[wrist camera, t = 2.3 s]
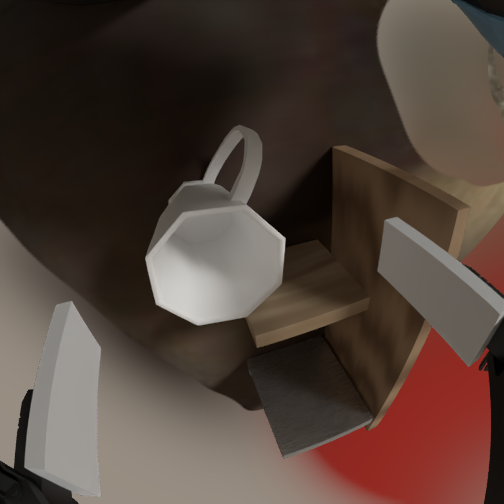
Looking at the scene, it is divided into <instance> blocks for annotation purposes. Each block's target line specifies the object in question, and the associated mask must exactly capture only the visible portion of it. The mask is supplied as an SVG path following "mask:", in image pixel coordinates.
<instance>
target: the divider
mask: <svg viewBox="0 0 504 504" xmlns="http://www.w3.org/2000/svg"><path fill="white" fill-rule="evenodd" d="M369 301H370V296H369V295H368V294H367V293H366V292H365V290H364V289H363V288H362V287H361V286H360V285H359V284H358V283H357V281H356V280H355V279H354V278H353V277H352V276H351V275H350V274H349V273H348V272H347V270H346V269H345V268H344V267H343V266H342V265H341V264H340V263H339V262H338V261H337V260H336V259H335V257H334V256H333V255H332V254H331V253H330V252H329V251H328V250H327V249H326V248H325V247H324V246H323V245H322V244H321V243H320V242H319V241H318V239H317V240H313V241H309V242H305V243H301V244H298V245H294V246H290V247H286V248H285V252H284V264H283V276H282V284H281V285H280V286H279V287H278V288H277V289H276V290H275V291H274V292H273V293H272V294H271V295H270V296H269V297H267V298H266V299H265V300H264V301H263V302H262V303H261V304H260V305H259V306H258V307H257V308H256V309H255V310H254V311H253V312H251V313H250V314H249V315H248V316H247V317H245V319H246V321H247V324H248V327H249V329H250V332H251V334H252V337H253V339H254V342H255V344H256V347H257V348H259V347H263V346H266V345H269V344H272V343H276V342H279V341H282V340H285V339H288V338H291V337H294V336H297V335H300V334H303V333H306V332H309V331H312V330H315V329H318V328H320V327H323V326H326V325H329V324H331V323H334V322H337V321H340V320H342V319H345V318H347V317H350V316H353V315H355V314H358V313H360V312H363V311H365V310H368V305H369Z"/></svg>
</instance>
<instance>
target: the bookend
mask: <svg viewBox="0 0 504 504" xmlns="http://www.w3.org/2000/svg"><path fill="white" fill-rule="evenodd" d="M246 361H247V366H248V370H249V373H250V374H251V376H252V379H253V382H254V385H255V387H256V390H257V393H258V395H259V398H260V401H261V403H262V406H263V409H264V411H265V414H266V416H267V419H268V422H269V424H270V427H271V429H272V432H273V434H274V437H275V439H276V442H277V444H278V447H279V449H280V452H281V454H282V457H283V459H285V458H288V457H291V456H294V455H297V454H300V453H302V452H305V451H308V450H310V449H313V448H316V447H318V446H321V445H323V444H325V443H328V442H330V441H333V440H335V439H337V438H339V437H342V436H344V435H346V434H348V433H351V432H353V431H355V430H357V429H359V428H361V427H363V426H365V425H367V424H369V423H370V422H371V421H372V419H373V417H372V416H371V414H370V412H369V411H368V409H367V408H366V406H365V404H364V403H363V401H362V399H361V398H360V396H359V394H358V393H357V391H356V390H355V388H354V386H353V385H352V383H351V381H350V380H349V378H348V377H347V375H346V373H345V372H344V370H343V368H342V367H341V365H340V364H339V362H338V360H337V359H336V357H335V356H334V354H333V352H332V351H331V349H330V348H329V346H328V344H327V343H326V341H325V340H324V338H323V336H322V335H319V336H316V337H313V338H310V339H308V340H305V341H302V342H299V343H296V344H293V345H290V346H287V347H284V348H281V349H278V350H274V351H271V352H268V353H265V354H261V355H258V356H255V357H251V358H248V359H246Z"/></svg>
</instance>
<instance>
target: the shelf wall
mask: <svg viewBox="0 0 504 504" xmlns="http://www.w3.org/2000/svg"><path fill="white" fill-rule="evenodd" d="M332 164H333V195H332V235H331V254H332V255H333V256H334V257H335V259H336V260H337V261H338V262H339V263H340V264H341V265H342V266H343V267H344V268H345V269H346V270H347V272H348V273H349V274H350V275H351V276H352V277H353V278H354V279H355V280H356V281H357V283H358V284H359V285H360V286H361V287H362V288H363V289H364V290H365V292H366V293H367V294H368V295H369V296H370V301H369V305H368V310H365V311H363V312H360V313H358V314H355V315H353V316H350V317H347V318H345V319H342V320H340V321H337V322H334V323H331V324H329V325H326V326H325V333H324V340H325V341H326V343H327V344H328V346H329V348H330V349H331V351H332V352H333V354H334V356H335V357H336V359H337V360H338V362H339V364H340V365H341V367H342V368H343V370H344V372H345V373H346V375H347V377H348V378H349V380H350V381H351V383H352V385H353V386H354V388H355V390H356V391H357V393H358V394H359V396H360V398H361V399H362V401H363V403H364V404H365V406H366V408H367V409H368V411H369V412H370V414H371V416H372V417H373V419H372V421H371V422H370V423H369V424H367V425H365V428H366V430H367V431H368V430H370V429H372V428H374V427H376V426H377V425H378V424H379V422H380V420H381V419H382V418H383V416H384V414H385V413H386V411H387V410H388V408H389V406H390V405H391V403H392V402H393V400H394V398H395V397H396V395H397V393H398V392H399V389H400V388H401V387H402V385H403V383H404V381H405V379H406V378H407V376H408V374H409V372H410V370H411V368H412V366H413V365H414V363H415V361H416V359H417V357H418V355H419V353H420V351H421V349H422V347H423V344H424V342H425V340H426V338H427V336H428V334H429V332H430V329H431V327H432V326H431V325H430V324H429V322H428V321H427V320H426V319H425V318H424V317H423V316H422V315H421V314H420V313H419V312H418V311H417V310H416V309H415V308H414V307H413V306H412V305H411V304H410V303H409V302H408V301H407V300H406V299H405V298H404V297H403V296H402V295H401V294H400V293H399V292H398V291H397V290H396V289H395V288H394V287H393V286H392V285H391V284H390V283H389V282H388V281H387V280H386V279H385V278H384V277H383V276H382V275H381V274H380V273H379V272H378V271H377V270H378V264H379V258H380V251H381V244H382V237H383V229H384V221H385V220H387V219H391V218H394V217H398V218H400V219H401V220H402V221H404V222H405V223H407V224H408V225H410V226H411V227H413V228H414V229H416V230H417V231H418V232H420V233H421V234H423V235H424V236H425V237H427V238H428V239H430V240H431V241H432V242H434V243H435V244H436V245H438V246H439V247H441V248H442V249H443V250H445V251H446V252H447V253H448V254H450V255H451V256H452V257H454V258H455V259H456V260H457V258H458V254H459V251H460V248H461V244H462V240H463V237H464V233H465V229H466V225H467V221H468V217H469V213H470V208H471V207H470V206H469V205H467V204H465V203H464V202H462V201H460V200H458V199H457V198H455V197H453V196H451V195H450V194H448V193H446V192H444V191H442V190H441V189H439V188H437V187H435V186H433V185H431V184H429V183H427V182H425V181H424V180H422V179H420V178H418V177H416V176H414V175H412V174H410V173H407V172H405V171H403V170H401V169H399V168H397V167H395V166H393V165H390V164H388V163H386V162H384V161H382V160H379V159H377V158H375V157H372V156H370V155H368V154H365V153H363V152H361V151H358V150H356V149H353V148H351V147H348V146H346V145H344V146H334V147H332Z"/></svg>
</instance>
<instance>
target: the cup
mask: <svg viewBox="0 0 504 504" xmlns="http://www.w3.org/2000/svg"><path fill="white" fill-rule="evenodd" d="M242 138H244V141H245V148H244V160H243V164H242V168H241V171H240V173H239V175H238V177H237V179H236V181H235V183H234V185H233V187H232V189H231V191H230V193H229V192H228V191H227V190H226V189H224V188H223V187H222V186H220V185H217V184H214V182H215V179H216V177H217V174H218V173H219V171H220V169H221V167H222V165H223V164H224V162H225V161H226V159H227V158H228V156H229V155H230V153H231V152H232V150H233V149H234V148H235V146H236V145H237V144H238V142H239V141H240V140H241V139H242ZM261 163H262V142H261V140H260V138H259V136H258V134H257V133H256V132H255V131H253V130H252V129H250V128H247V127H244V126H242V125H238V126H236V127H234V128H233V129H232V130H231V131H230V132H229V133H228V135H227V136H226V137H225V139H224V140H223V142H222V143H221V145H220V146H219V148H218V150H217V151H216V153H215V155H214V156H213V158H212V160H211V162H210V164H209V166H208V168H207V170H206V172H205V175H204V177H203V180H197V181H188V182H183V184H182V185H181V186H180V187H179V188H178V189H177V191H176V192H175V193H174V194H173V195H172V196H171V198H170V199H169V200H168V206H167V208H166V209H165V210H164V212H163V213H162V215H161V216H160V218H159V220H158V223H157V226H156V229H155V232H154V235H153V237H152V240H151V242H150V245H149V248H148V251H147V254H146V257H145V260H146V264H147V269H148V273H149V278H150V282H151V286H152V290H153V295H154V299H155V303H156V305H158V306H160V307H162V308H164V309H166V310H168V311H170V312H172V313H173V314H175V315H177V316H179V317H181V318H183V319H185V320H187V321H189V322H191V323H194V324H196V325H198V326H199V325H205V324H211V323H216V322H222V321H228V320H233V319H239V318H244V317H247V316H248V315H249V314H250V313H251V312H253V311H254V310H255V309H256V308H257V307H258V306H259V305H260V304H261V303H262V302H263V301H264V300H265V299H266V298H267V297H269V296H270V295H271V294H272V293H273V292H274V291H275V290H276V289H277V288H278V287H279V286H280V285H281V284H282V276H283V264H284V252H285V239H286V238H285V237H283V236H282V235H281V234H280V233H279V232H278V231H276V230H275V229H274V228H273V227H272V226H271V225H270V224H268V223H267V222H266V221H265V220H264V219H263V218H261V217H260V216H259V215H258V214H257V213H256V212H254V211H253V210H252V209H251V208H250V207H249V206H247V205H246V204H247V202H248V200H249V198H250V196H251V194H252V191H253V188H254V186H255V183H256V180H257V178H258V175H259V171H260V167H261Z"/></svg>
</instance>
